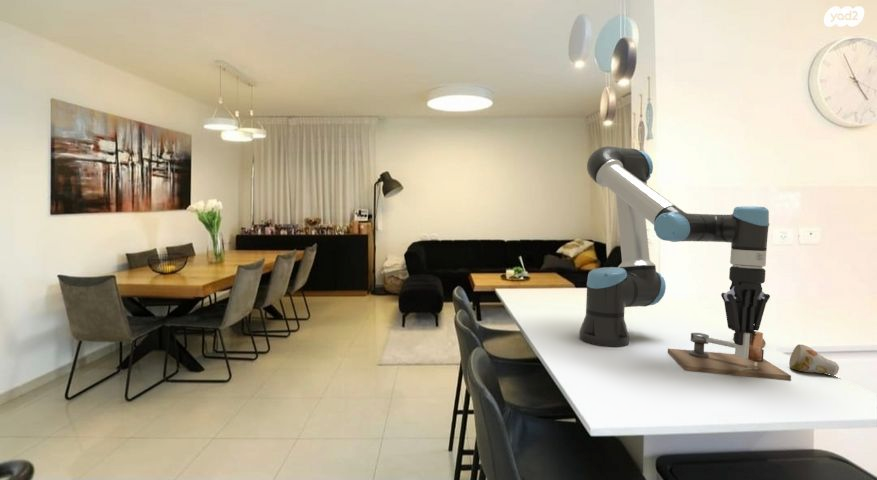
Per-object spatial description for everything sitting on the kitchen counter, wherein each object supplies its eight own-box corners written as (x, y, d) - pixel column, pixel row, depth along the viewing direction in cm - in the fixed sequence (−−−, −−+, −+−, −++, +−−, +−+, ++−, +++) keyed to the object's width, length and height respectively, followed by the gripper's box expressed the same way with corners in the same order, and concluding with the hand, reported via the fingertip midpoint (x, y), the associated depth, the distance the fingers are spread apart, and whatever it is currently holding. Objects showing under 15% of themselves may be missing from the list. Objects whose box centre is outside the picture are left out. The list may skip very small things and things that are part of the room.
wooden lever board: (685, 370, 114) (686, 341, 114) (667, 352, 130) (669, 326, 129) (790, 380, 109) (792, 349, 108) (759, 360, 124) (760, 333, 124)
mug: (846, 382, 109) (826, 347, 110) (800, 389, 115) (781, 356, 116) (841, 367, 115) (822, 334, 116) (797, 374, 121) (779, 343, 122)
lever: (687, 346, 124) (689, 322, 124) (693, 343, 127) (694, 320, 127) (758, 362, 112) (760, 335, 111) (763, 358, 114) (765, 332, 114)
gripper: (739, 267, 107) (733, 362, 108) (782, 268, 109) (775, 361, 110) (714, 264, 114) (708, 353, 115) (754, 265, 117) (748, 352, 118)
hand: (741, 357), depth 113 cm, fingers closed
